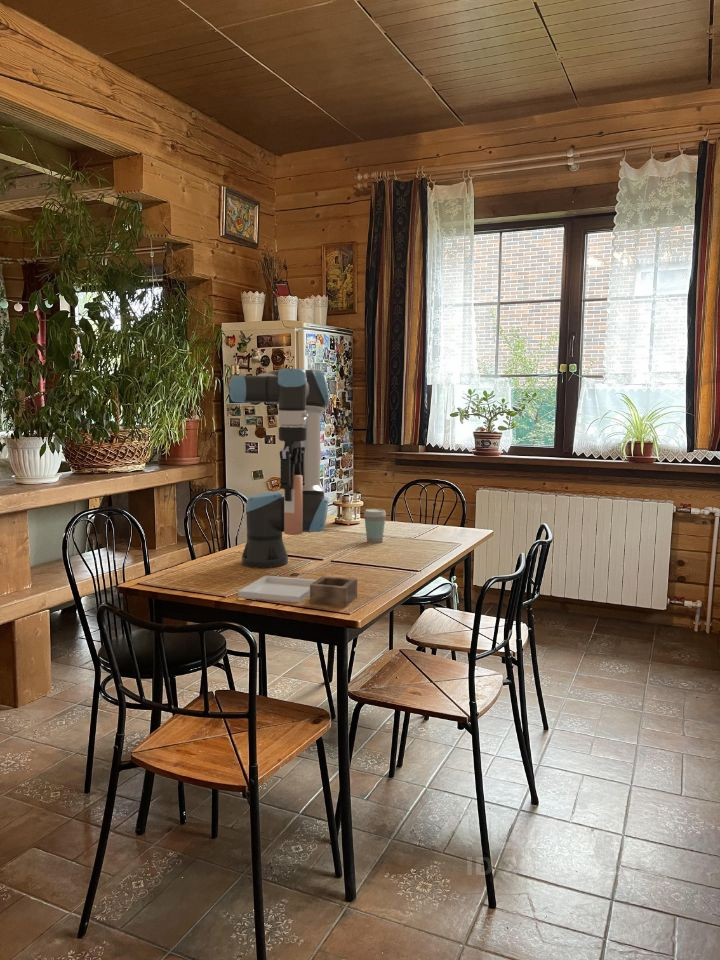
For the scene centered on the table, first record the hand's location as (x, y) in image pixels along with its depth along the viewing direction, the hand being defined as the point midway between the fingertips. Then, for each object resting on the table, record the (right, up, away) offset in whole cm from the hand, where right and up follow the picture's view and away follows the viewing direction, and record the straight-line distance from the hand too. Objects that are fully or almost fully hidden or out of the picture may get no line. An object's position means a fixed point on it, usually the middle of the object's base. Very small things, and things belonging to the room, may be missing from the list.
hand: (293, 510), depth 203 cm
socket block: (+11, -25, -4) cm, 28 cm away
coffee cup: (+24, -15, +77) cm, 82 cm away
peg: (0, -6, +1) cm, 6 cm away
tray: (-4, -24, +4) cm, 24 cm away
